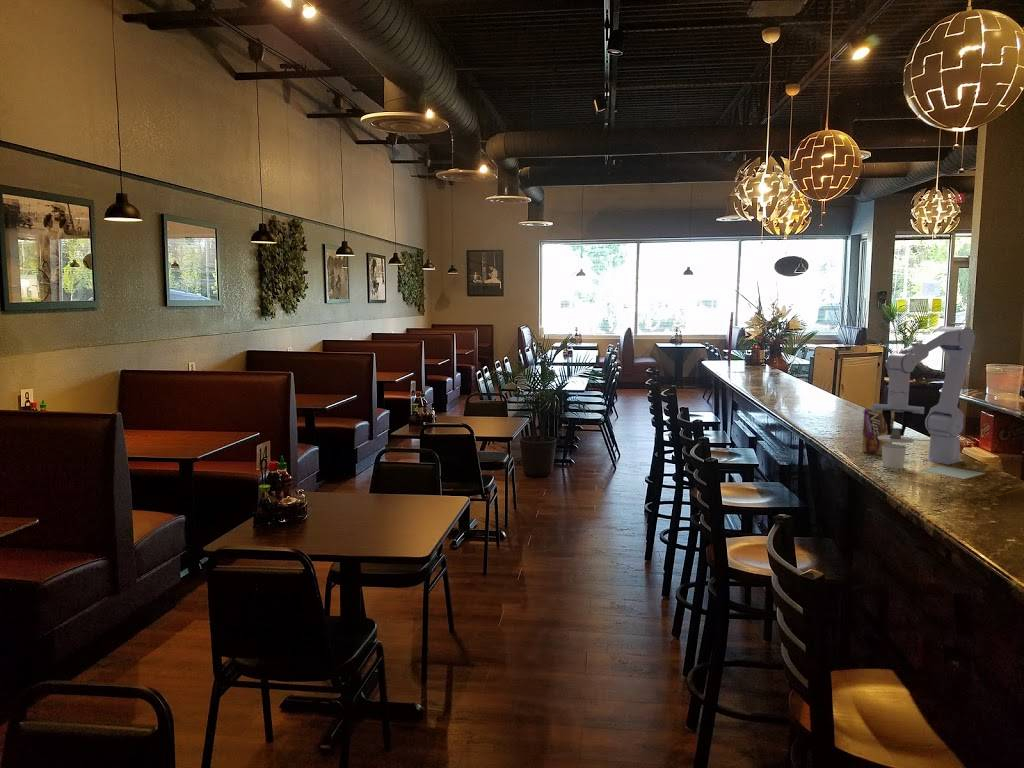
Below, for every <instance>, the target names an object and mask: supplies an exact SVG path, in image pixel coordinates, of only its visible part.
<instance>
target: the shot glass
mask: <svg viewBox="0 0 1024 768" xmlns="http://www.w3.org/2000/svg"><path fill="white" fill-rule="evenodd" d="M906 452H907V446H905V445H902V444H897V443H896V444H894V443H892V444H883V445H882V455H881V456H882V457H881V458H882V459H881V460H882V462H881V463H882V467H884V468H888V469H895V470H897V469H903V468H904V464H905V463H904V462H905V457H906V456H905V455H906Z"/></svg>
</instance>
